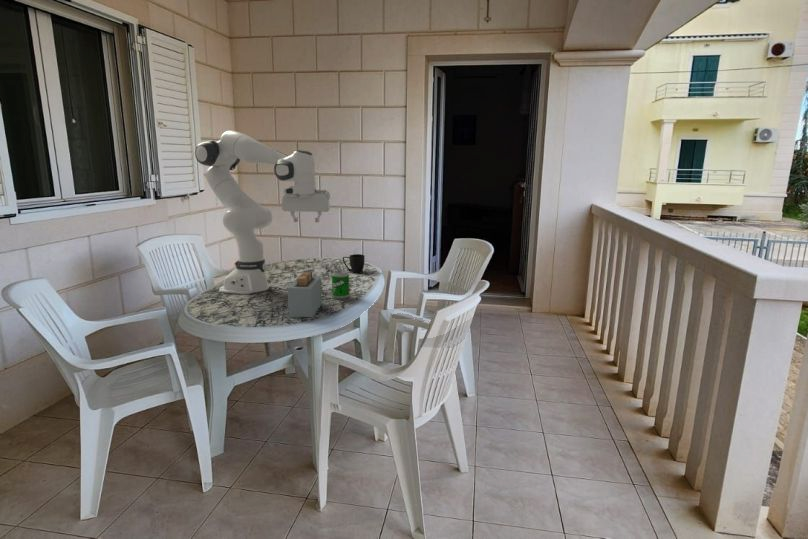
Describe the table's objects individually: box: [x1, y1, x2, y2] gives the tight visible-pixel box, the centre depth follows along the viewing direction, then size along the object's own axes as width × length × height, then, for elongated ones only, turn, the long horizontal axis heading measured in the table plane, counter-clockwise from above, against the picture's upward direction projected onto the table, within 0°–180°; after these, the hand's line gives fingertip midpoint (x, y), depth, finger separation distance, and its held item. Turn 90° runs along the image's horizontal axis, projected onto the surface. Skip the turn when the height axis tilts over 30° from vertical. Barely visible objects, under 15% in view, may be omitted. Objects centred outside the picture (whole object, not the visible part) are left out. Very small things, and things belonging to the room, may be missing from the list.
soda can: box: [331, 269, 350, 300], centre depth 201 cm, size 8×8×12 cm
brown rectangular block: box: [296, 271, 313, 287], centre depth 182 cm, size 12×3×8 cm, turn 178°
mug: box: [342, 253, 366, 274], centre depth 248 cm, size 8×12×10 cm
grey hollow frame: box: [287, 276, 323, 318], centre depth 183 cm, size 9×18×12 cm, turn 178°
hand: (306, 222), depth 195 cm, fingers open, 8 cm apart
